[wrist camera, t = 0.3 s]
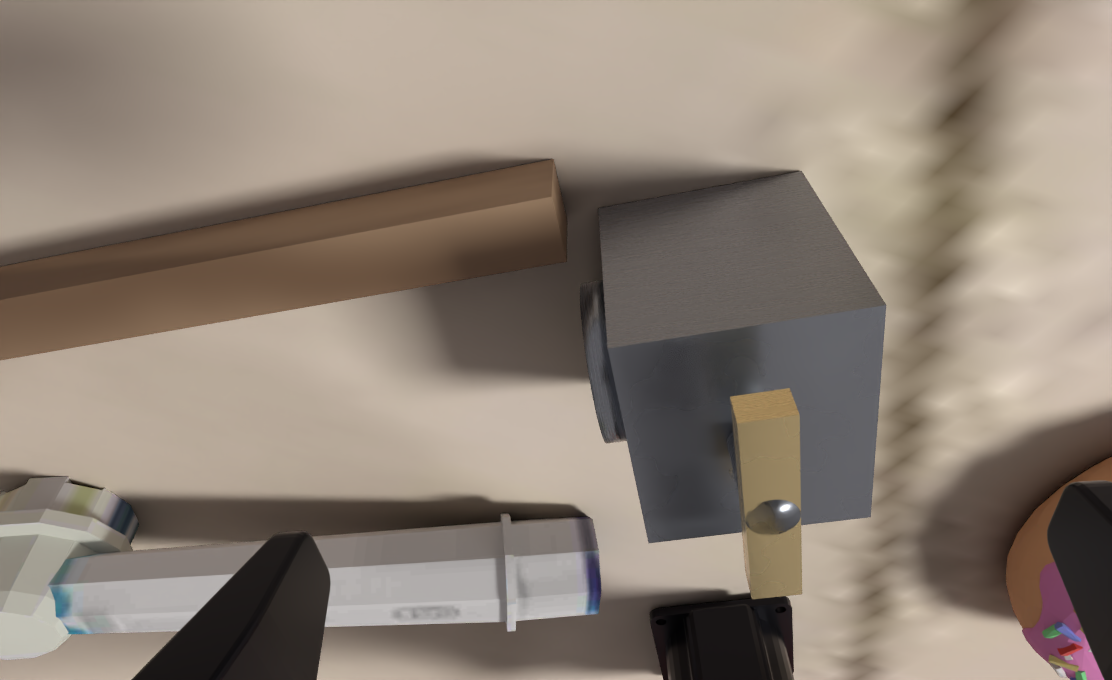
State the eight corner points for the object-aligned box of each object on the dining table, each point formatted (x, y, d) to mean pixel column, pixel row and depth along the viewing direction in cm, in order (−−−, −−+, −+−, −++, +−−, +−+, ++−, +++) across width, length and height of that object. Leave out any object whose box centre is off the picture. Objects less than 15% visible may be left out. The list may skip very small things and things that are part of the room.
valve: (803, 357, 25) (903, 595, 17) (609, 385, 26) (625, 623, 18) (801, 170, 21) (931, 377, 13) (572, 212, 22) (572, 427, 14)
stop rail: (567, 220, 22) (566, 261, 20) (-198, 359, 26) (-263, 405, 24) (553, 159, 21) (551, 196, 19) (-246, 314, 25) (-318, 359, 23)
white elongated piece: (596, 646, 30) (-72, 709, 27) (573, 517, 35) (14, 557, 32) (606, 568, 26) (-150, 629, 23) (580, 440, 32) (-40, 476, 29)
